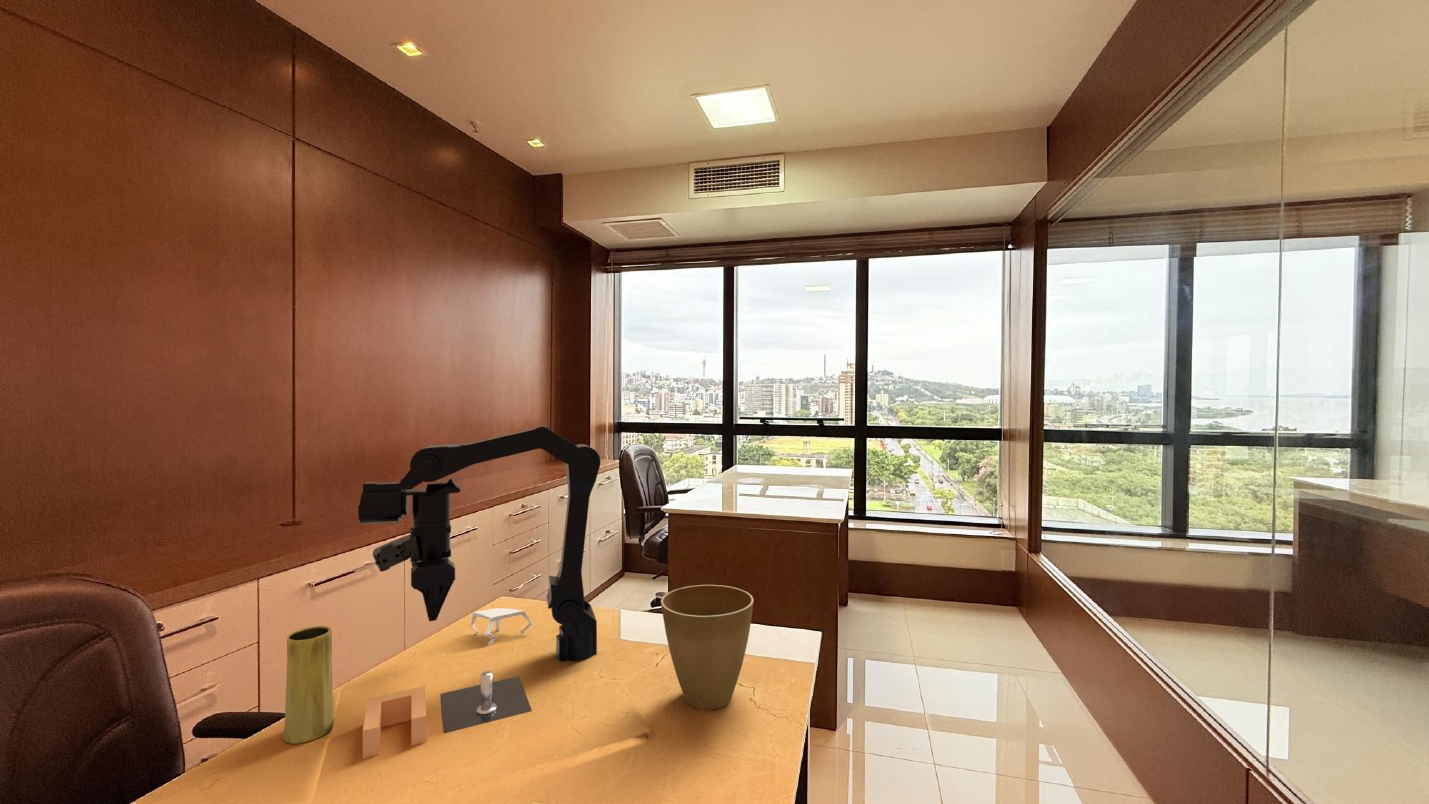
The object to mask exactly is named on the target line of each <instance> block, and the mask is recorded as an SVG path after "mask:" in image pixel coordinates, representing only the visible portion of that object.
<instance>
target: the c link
mask: <svg viewBox="0 0 1429 804" xmlns="http://www.w3.org/2000/svg"><path fill="white" fill-rule="evenodd" d="M364 714H365V715H364V720H363V728H362V759H366V758H370V757H371V758H372V757H374V756H379V754H380V746H381V735H382V728H384V727H388V726H391V725H392V726H393V725H396V724H400V723H404V722H410V721H411V730H410V731H411V734H410V735H411V736H410V737H411V739H410V740H411V743H410V744H411V746H413V747H414V746H416V745H417V746H418V745H421V744H424V743H427V699H426V685H423V686H418V687H414V688H409V689H404V690H401V691H396V692H395V691H394V692H391V693H386V694H383V695H382V694H381V695H377V696H373V697H372V696H371V697H369V698H367V701H366V707H365V713H364Z"/></svg>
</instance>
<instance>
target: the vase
mask: <svg viewBox="0 0 1429 804" xmlns="http://www.w3.org/2000/svg"><path fill="white" fill-rule="evenodd" d="M332 635H333V631H332V628H331V627H329V626H325V625H323V626H322V625H317V626H316V625H315V626H311V627H305V628H301V629H299V630H296V631H293V632H291V633H290V634H288V635H287V637H286V680H285V681H286V682H285V683H286V684H285V685H286V686H285V687H286V688H285V702H284V703H285V707H284V708H285V709H284V711H285V712H284V727H283V735H282V740H283V741H284V742H285V743H287V744H293V745H294V744H295V745H297V744H298V745H299V744H305V743H309V742H312V741H315V740H317V739H319V738H321V737H323V736H325V735H326V734H329V732H330V731H332V729H333V727H334V722H335V707H334V706H335V705H334V691H333V690H334V689H333V661H332V659H333V658H332V657H333V653H332V652H333V648H332V647H333V645H332V643H333V636H332Z"/></svg>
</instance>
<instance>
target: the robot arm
mask: <svg viewBox="0 0 1429 804" xmlns="http://www.w3.org/2000/svg"><path fill="white" fill-rule="evenodd" d="M539 449H540V450H543V451H544V452H546V453H548V454H550V455H551V456H553V457H555V458H556V459H558V460H560V462H563V463H564V464H565V471H566V472H565V473H566V483H567V493H568V495H567V504H566V509H565V510H566V512H565V521H564V530H563V538H562V540H563V541H562V546H561V559H560V564H559V568H558V572H557V575H549V576H548V580H549V581H548V583H549V587H548V588H549V589H548V592H547V594H546V603H547V608H548V610H549V609H550V610H551V616H552V618H553V620H554V621H555V622H556V623H557V624H559V627H558V628H559V629H558V632H559V633H558V634H557V635H556V636H555V639H556V640H555V648H556V651H555V656H556V658H557V661H559V662H567V661H568V662H581V661H585V660H587V659H590V658H591V657H593V656H596V655H597V657H598V656H599V655H598V645H597V644H598V633H597V632H598V625H597V624H598V621H597V618H596V616H595V612H594V611H593V606H592V605H591V604H590V603H589V602H588V601H587V600H585V594H584V583H583V575H582V570H583V569H582V568H583V562H584V561H583V560H584V553H585V552H584V550H585V541H586V531H587V523H588V513H589V505H590V496H591V493H592V491H593V489H594V486H595V484H596V481H597V478H598V474H599V471H600V467H601V456H600V454H599V453H598V452H597V450H595V449H594V448H593V447H591V446H589V445H587V444H583V443H582V444H581V443H580V444H575V443H573V442H571V441H570V440H569V439H566V438H565V437H563V436H561V435H560V434H558V433H556V432H555V431H553V430H552V429H551V428H550V427H548V426H546V425H537V426H536V427H534V428H530V429H526V430H521V431H518V432H512V433H509V434H504V435H500V436H495V437H491V438H487V439H484V440H483V439H482V440H479V441H475V442H470V443H448V444H447V443H446V444H435V445H434V444H432V445H428V446H425V447H424V448H421V449H419V450H418V451H416V452H415V453H414V454H413V456H412V457H411V459H410V463H409V468H410V469H409V470H408V472H407V473H406V474H405V475H404V476H403V477H401V478H400V481H393V482H388V481H387V482H378V481H367V482H364V483H363V484H362V492H361V495H360V498H359V499H360V500H359V504H358V506H357V511H358V512H357V514H358V515H357V517H358V521H359V523H360V525H370V524H371V525H373V524H375V525H376V524H386V523H389V524H390V523H400V522H402V520H403V517H405V516H409V515H410V508H411V496H412V526H410V533H409V534H406V535H404V536H402V537H399V538H397V539H394V540H391V541H390V542H387V543H384V544H381V545H380V546H378V547H375V548H374V549H373V551H372V557H373V559H374V562H375V565H376V566H377V568H378V570H379V572H380V573H381V572H385V571H388V570H390V568H392V567H394V566H396V565H399V564H401V563H403V562H406V561H407V560H409V559H410V563H411V568H410V586H411V588H412V589H413V590H416V591H418V592H420V593H421V594H422V597H423V602H424V606H425V609H426V614H427V618H428V619H427V620H428V621H429V622H434V621H437V619H438V617H439V614H441V613H440V612H441V610H442V608H443V605H444V603H445V601H446V598H447V597H448V594H449V592H450V590H451V588H452V586H453V584H454V583H455V580H456V567H455V563H454V561H452V560H451V559H450V558H451V557H452V550H451V534H452V526H451V494H460V493H461V492H462V489H463V486H462V485H461V484H459V483H458V482H456V480H455V479H454V477H450V478H449V479H448V480H447V482H436V481H438V480H441V479H443V478H445V477H448V476H450V475H453V474H455V473H457V472H459V471H462V470H463V469H466V468H468V467H471V466H473V465H477V464H480V463H485V462H489V461H493V460H497V459H501V458H506V457H510V456H514V455H518V454H521V453H525V452H530V451H535V450H539ZM423 482H424V483H427V484H426V487H425V488H420V489H414V488H415V487H417V486H418V485H420V484H423ZM434 482H435V483H434Z"/></svg>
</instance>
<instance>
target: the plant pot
mask: <svg viewBox="0 0 1429 804" xmlns="http://www.w3.org/2000/svg"><path fill="white" fill-rule="evenodd" d="M660 604H661V605H660V606H661V612H662V617H663V626H664V629H665V631H664V632H665V635H666V639H667V640H666V641H667V646H668V649H669V653H670V658H671V661H672V665H673V667H674V671H675V674H676V678H677V680H678V683H679V686H680V688H681V692H682V694H683V697H684V699H685V701H686V703H687V704H688V705H689V706H690V707H692V708H695V709H700V710H705V711H707V710H709V711H710V710H716V709H717V710H718V709H720V708H723V707H725V706H726V705H728V704H729V703H730V701H731V699H732V697H733V694H734V692H735V688H736V686H737V683H738V679H739V677H740V674H741V673H740V672H741V670H742V665H743V662H744V659H745V654H746V649H747V646H748V642H749V641H748V640H749V637H750V636H749V635H750V631H751V623H752V618H753V616H752V615H753V607H754V597H753V595H752V594H751V593H749V592H748V591H745V590H743V589H742V588H741V589H740V588H737V587H735V586H734V587H733V586H728V585H720V584H718V585H716V584H699V585H689V586H684V587H680V588H676V589H673V590H671V591H669V592H667V593H666V594H665V595H663V596H662V597H661V600H660Z"/></svg>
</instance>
